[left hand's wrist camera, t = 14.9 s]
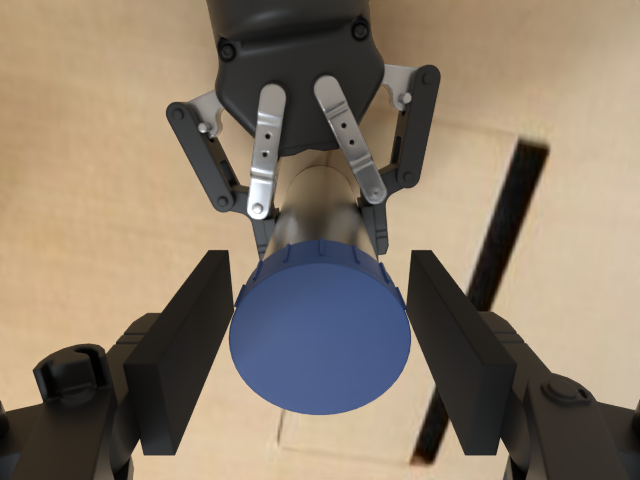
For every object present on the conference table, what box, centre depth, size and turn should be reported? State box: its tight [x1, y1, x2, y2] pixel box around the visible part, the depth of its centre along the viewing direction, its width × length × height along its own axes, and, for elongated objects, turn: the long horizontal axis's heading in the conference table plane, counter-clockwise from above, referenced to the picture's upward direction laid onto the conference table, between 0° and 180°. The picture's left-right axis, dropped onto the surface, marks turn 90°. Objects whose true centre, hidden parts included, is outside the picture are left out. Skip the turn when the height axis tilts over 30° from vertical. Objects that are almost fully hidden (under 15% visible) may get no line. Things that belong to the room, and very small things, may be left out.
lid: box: [229, 238, 411, 415], centre depth 11 cm, size 5×5×2 cm
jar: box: [263, 166, 377, 261], centre depth 19 cm, size 5×5×17 cm
